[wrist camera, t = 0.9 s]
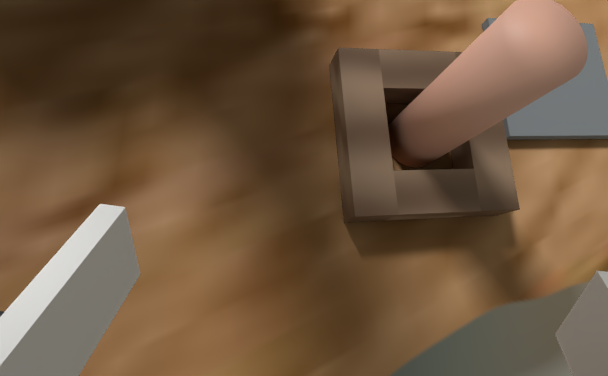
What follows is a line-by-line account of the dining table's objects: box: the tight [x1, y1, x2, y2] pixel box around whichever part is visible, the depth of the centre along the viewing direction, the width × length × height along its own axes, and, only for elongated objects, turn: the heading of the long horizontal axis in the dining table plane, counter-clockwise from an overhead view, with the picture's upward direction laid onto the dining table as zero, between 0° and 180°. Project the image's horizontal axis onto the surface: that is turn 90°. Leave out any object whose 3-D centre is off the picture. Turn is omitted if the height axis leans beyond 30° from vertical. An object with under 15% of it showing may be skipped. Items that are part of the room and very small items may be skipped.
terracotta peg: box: [388, 0, 588, 168], centre depth 29 cm, size 5×5×16 cm
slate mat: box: [482, 18, 608, 140], centre depth 41 cm, size 12×12×1 cm
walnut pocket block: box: [329, 48, 520, 222], centre depth 36 cm, size 14×14×3 cm
